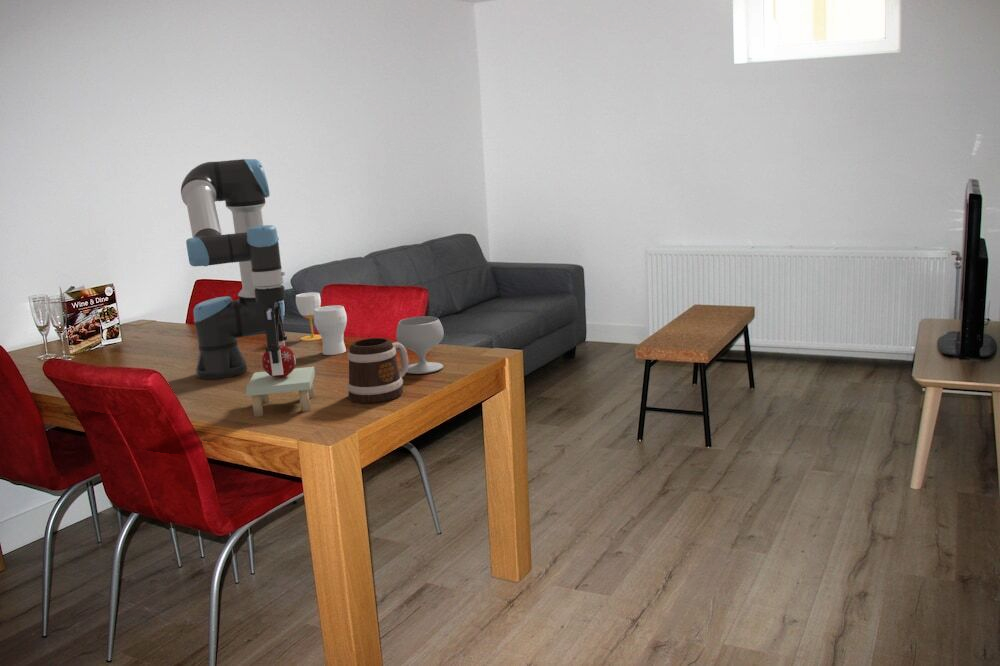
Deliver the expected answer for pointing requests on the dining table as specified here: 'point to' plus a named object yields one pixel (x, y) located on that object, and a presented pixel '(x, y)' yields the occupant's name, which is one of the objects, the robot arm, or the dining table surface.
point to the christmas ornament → (287, 361)
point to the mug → (375, 370)
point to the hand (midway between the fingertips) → (280, 369)
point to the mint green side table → (281, 387)
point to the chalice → (420, 340)
